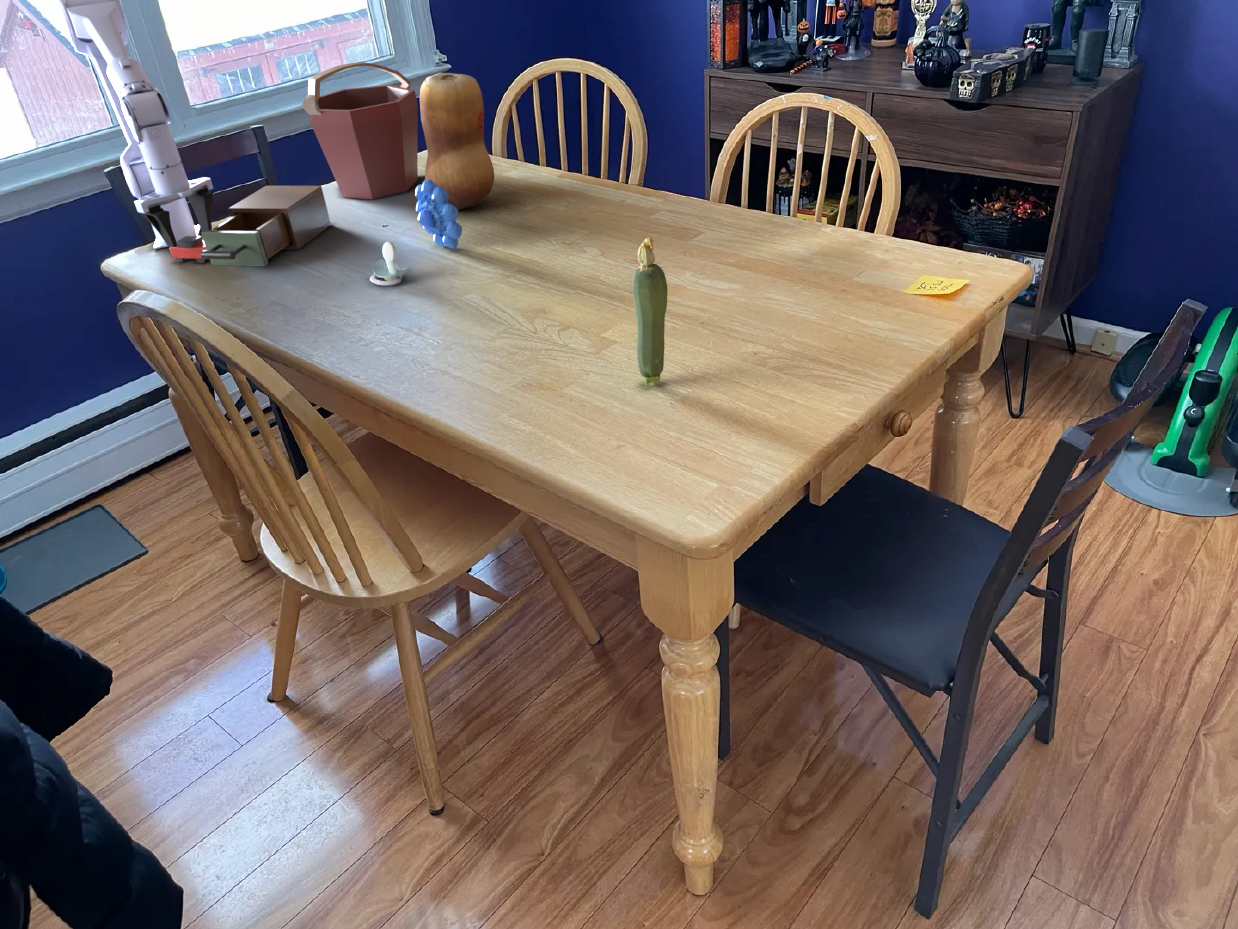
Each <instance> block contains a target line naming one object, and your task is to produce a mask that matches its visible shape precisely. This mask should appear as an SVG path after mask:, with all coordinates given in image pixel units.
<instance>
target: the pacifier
mask: <svg viewBox="0 0 1238 929" xmlns="http://www.w3.org/2000/svg"><path fill="white" fill-rule="evenodd" d="M381 251H382V257H383V259H380V260H377V261H375V262H374V263H373V265H372V271H373V273H374V274H372V275H371V276H369V281H370V282H371V283H372V284H375V285H378V286H384V287H385V286H393V285H397V284H399V283H400V282H401V281H402V280H403V275H404V274H406V273H408V272H409V271H410V270H411V269H412V268H411V266H408V267H406V268H401V269H400V267H399V266H398V265H397V262H396V258H397V253H398V251H397V247H396V246H395V244H394V243H392V242H391V241H386V242H384V243H383V245H382V250H381ZM377 278H382V279H384V280H379V279H377Z"/></svg>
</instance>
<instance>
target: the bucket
mask: <svg viewBox="0 0 1238 929" xmlns="http://www.w3.org/2000/svg"><path fill="white" fill-rule="evenodd" d="M359 67H360V68H361V67H370V68H374V69H377V70H380V71H382V72H384V73H385V72H386V73H389V74H390V75H392V76H393V77H394V78H395V79H397V80H398V81H399V82H400V83H401V85H400V86H398V85H393V84H384V85H372V86H362V87H361V86H360V87H349V88H341V89H339V90H335V91H332V92H329V93H325V94H321V82H322V81H324V80H326V79H328V78H329V77H331V76H333V75H335V74H337V73H340V72H342V71H345V70H348V69H352V68H359ZM411 86H412V85H411V81H410V80H409V79H408V78H407V77H406V76H405V75H404V74H402V73H401V71H398V70H396V69H392V68H389V67H387V66H383V65H380V64H375V63H369V62H364V61H358V62H357V61H356V62H348V63H344V64H339V65H336V66H333V67H331V68H328V69H325V70H323V71H321V72H318V73H316V74H315V75H313V76H312V77H310V78H308V84H307V95H306V96H305V98H304V99H303V101H302V104H301V106H302V108H303V109H304V111H305V112H306V113H307V114H308V117H309V121H310V124H311V128H312V130H313V132H314V135H315V137H316V139H317V141H318V143H319V145H320V149H321V150H322V153H323V155H324V157H325V159H326V162H327V164H328V166H329V168H330V172H331V173H332V175H333V177H334V180H335V182H336V184H337V186H338V189H339V191H340V193H341V196H342V198H347V199H362V200H375V199H379V198H384V197H388V196H392V195H396V194H402V193H405V192H407V191H408V190H409V189H411V188H412V187H413V186H414V185H415V183H417V181H418V177H419V176H418V170H419V169H418V166H419V165H418V162H419V161H418V159H419V158H418V149H419V148H418V136H419V134H418V133H419V132H418V131H419V130H418V126H419V125H418V122H419V121H418V116H419V115H418V114H419V113H418V110H419V109H418V108H419V107H418V105H419V104H418V98H417V95H416V90H415V89H411Z"/></svg>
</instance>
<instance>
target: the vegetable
mask: <svg viewBox="0 0 1238 929" xmlns="http://www.w3.org/2000/svg"><path fill="white" fill-rule="evenodd" d="M652 242H653V243H654V241H653V238H652V237H649V236H648V237H646V238H645V239H644V240H643V243H641V244H640V246H639V248H638V250H637V254H636V255H637V256H636V259H637V261H638V264H640V265H639V266H638V267H637V268H635V270H634V273H633V275H632V279H631V289H632V298H633V304H634V310H635V319H636V320H635V321H636V359H637V367H638V372H639V373H640V375H641V376H642V378H643V381H644V383H645V385H646V386H647V387H648V386H649V385H651V384H656V383H658V382H661V374H662V373H663V371H664V366H665V342H666V341H665V322H666V320H665V319H666V313H667V307H668V291H669V290H668V282H667V277H666V275H665V272H664V270H663V268H662V267H661V266H659V264H657V263H655V262H656V255H655V252H654V251H655V249H654V245H653V243H652Z"/></svg>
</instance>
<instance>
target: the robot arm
mask: <svg viewBox="0 0 1238 929" xmlns="http://www.w3.org/2000/svg"><path fill="white" fill-rule="evenodd" d="M55 5H56V10H57V13H58V17H59V19H60V21H61V23H62V26H63V28H64V30H65V32H66V35H67V37H68V39H69V41H70V45H71V46H73V47H74V50H75V52H77V53H79V54H83V55H85V56H87V57H88V58H89V59H90V61H91V63H92V64H93V66H94V67H95V69H96V71H97V73H98V75H99V78H100V80H101V83H102V85H103V87H104V89H105V91H106V94H107V97H108V99H109V101H110V103H111V106H112V108H113V110H114V113H115V115H116V117H117V120H118V123H119V124H120V127H121V129H122V132H123V134H124V137H125V138H126V141H127V143H128V146H127V147H126V148H125V150H124V151H123V153H122V154H121V155H120V159H119V163H120V167H121V169H122V172H123V176H124V178H125V181H126V184H127V186H128V188H129V191H130V194H132V196H133V197H135V198H136V199H137V200H134V201H133V203H134V205H135V208H136V211H137V213H139V214H141V216H142V217H144V218H145V219H146V220H147V221H148V222H149V223H150V225H151V227H152V230H153V232H154V235H155V241H154V244H153V249H155V250H157V249H163V248H170V247H176V246H177V241H179V240H180V239H182V238H184V237H185V236H200V233H201V232H203V231H204V230H213V227H212V226H213V225H212V210H213V204H214V200H215V194H214V191H210V190H213V189H214V186H213V183H212V179H211V177H207V176H206V177H204V176H202V177H199V178H196V179H192V180H188V176H187V174H186V171H185V167H184V165H183V162H182V159H181V156H180V152H179V150H178V147H177V144H176V141H175V139H174V138H175V137H174V134H173V132H172V129H171V126H170V125H171V124H172V119H171V114H170V109H169V108H168V104H167V102H166V100H165V98H164V96H163V94H162V92H161V90H160V89H159V88H157V87H156V85H152V83H151V81H150V79H149V78H148V76H147V74H146V72H145V70H144V68H143V66H142V64H141V63H140V61H139V60H137V59H136V58H134V57H130V56H129V53H128V50H127V48H126V45H127V44H128V43H129V42H128V36H129V35H128V30H127V29H128V28H127V19H126V15H125V12H124V9H123V7H122V4H121V1H120V0H55ZM168 124H169V125H168ZM187 200H188V201H189V203H190V205H191V207H192V209H193V211H194V213H195V215H196V219H197V222H198V224H197V225H195V223H194V220H193V217H192V213H191V211H190V210H191V209H190V208H189V205H188V202H187ZM200 231H201V232H200Z"/></svg>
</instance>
